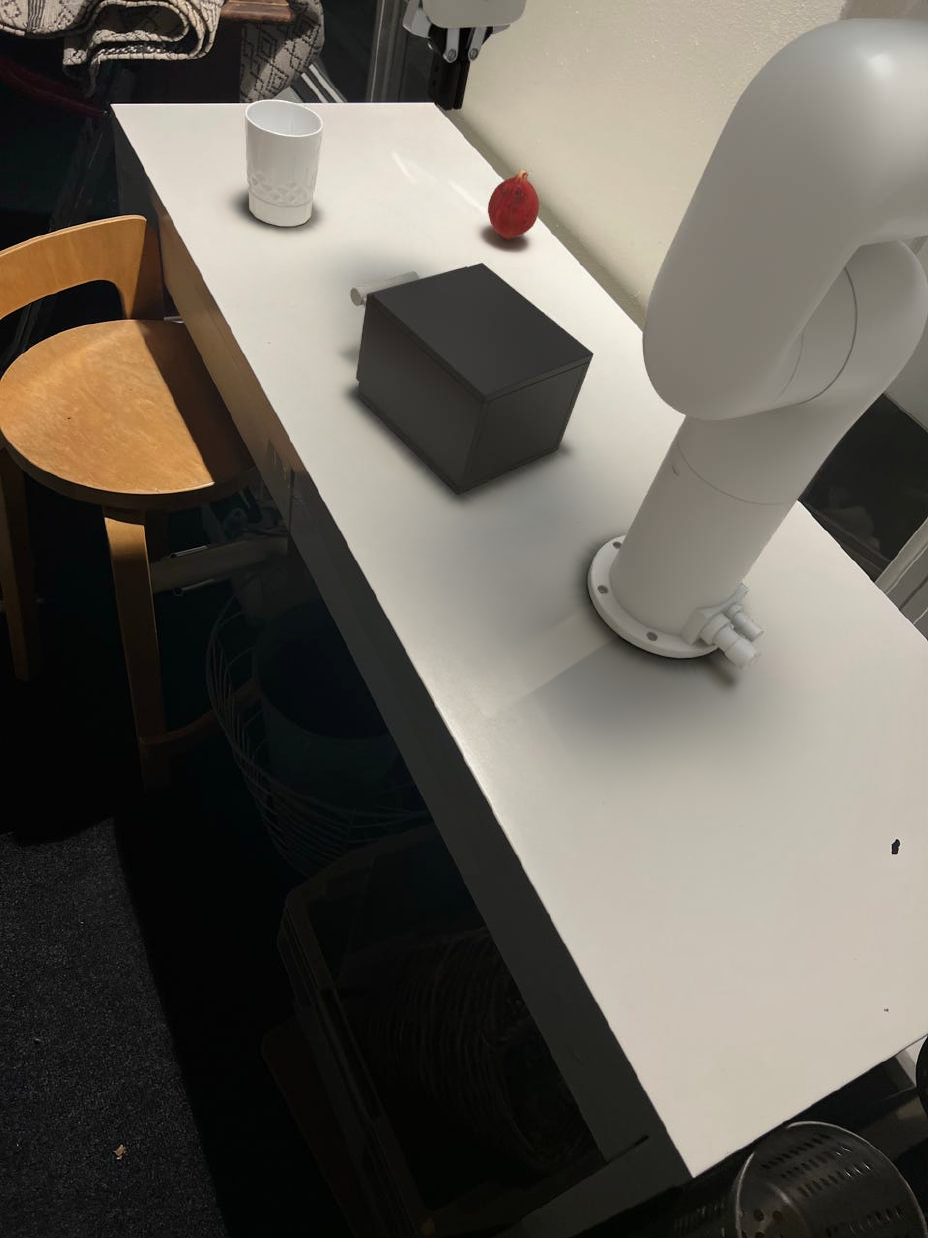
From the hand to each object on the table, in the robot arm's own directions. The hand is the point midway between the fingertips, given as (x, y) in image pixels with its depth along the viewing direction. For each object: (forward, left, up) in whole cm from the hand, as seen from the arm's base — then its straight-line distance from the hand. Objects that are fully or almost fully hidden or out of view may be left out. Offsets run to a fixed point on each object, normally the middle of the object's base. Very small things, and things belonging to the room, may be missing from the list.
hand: (444, 102), depth 81 cm
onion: (+4, -17, -19) cm, 26 cm away
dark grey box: (-19, +10, -19) cm, 29 cm away
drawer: (-15, +10, -18) cm, 25 cm away
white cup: (+18, +5, -19) cm, 26 cm away
